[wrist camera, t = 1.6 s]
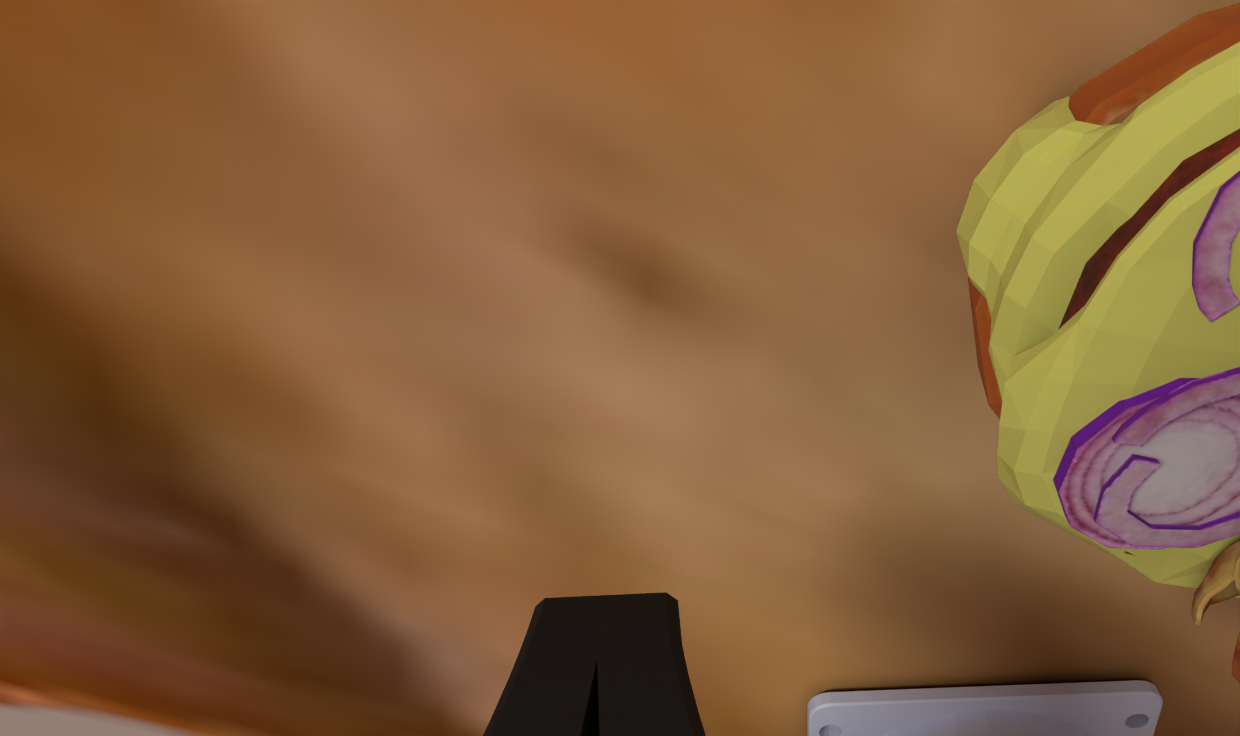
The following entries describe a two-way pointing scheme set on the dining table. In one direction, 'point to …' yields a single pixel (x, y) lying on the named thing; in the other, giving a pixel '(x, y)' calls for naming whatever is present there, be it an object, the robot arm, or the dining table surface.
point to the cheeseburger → (1122, 309)
